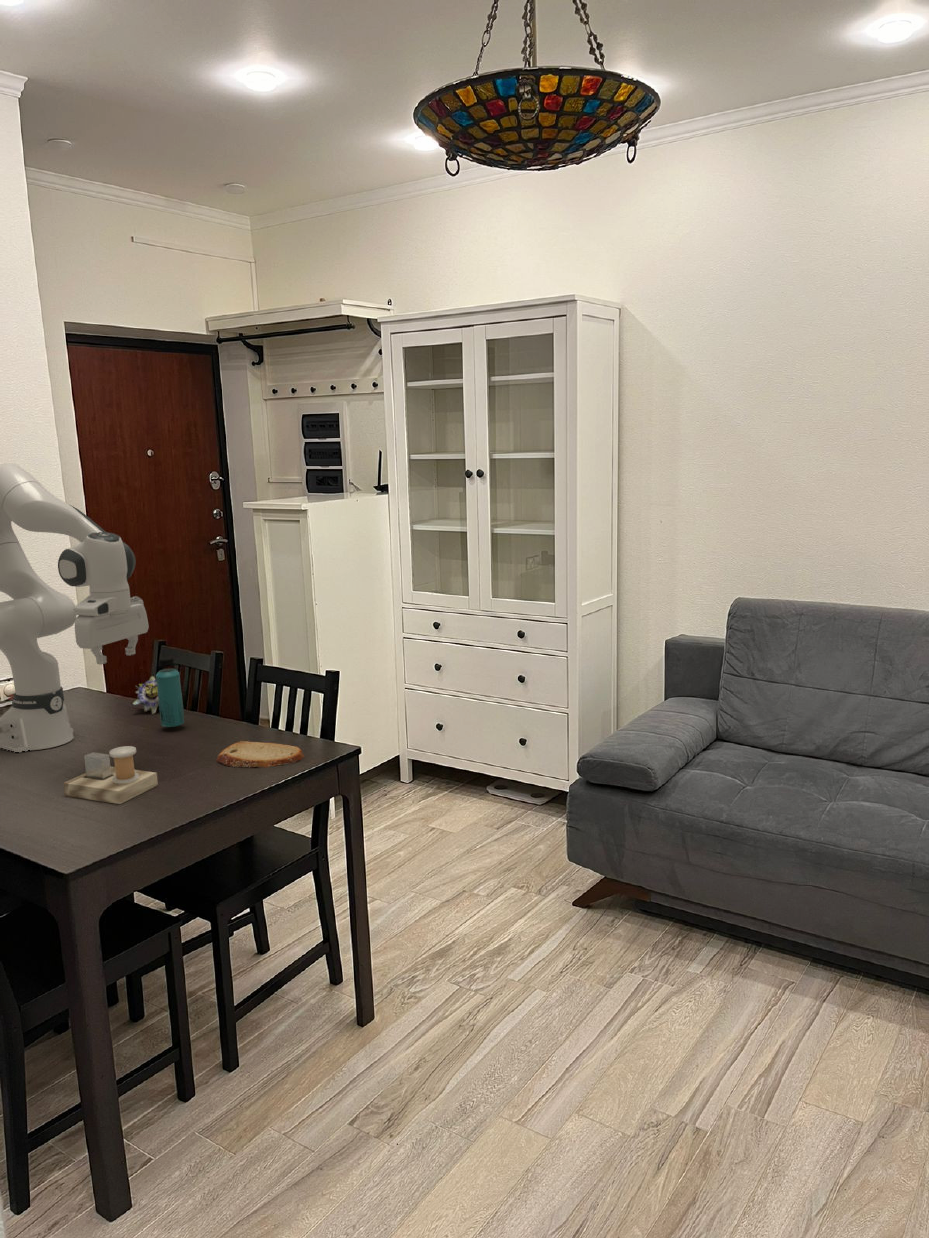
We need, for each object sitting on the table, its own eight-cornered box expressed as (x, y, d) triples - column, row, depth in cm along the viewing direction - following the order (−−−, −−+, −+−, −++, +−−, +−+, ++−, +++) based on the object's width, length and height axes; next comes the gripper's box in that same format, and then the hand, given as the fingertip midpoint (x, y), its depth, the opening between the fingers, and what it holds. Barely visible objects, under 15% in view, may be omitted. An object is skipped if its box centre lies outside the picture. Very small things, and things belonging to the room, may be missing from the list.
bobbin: (107, 782, 210) (103, 752, 209) (125, 774, 215) (122, 745, 214) (126, 785, 208) (123, 755, 207) (144, 777, 213) (141, 747, 212)
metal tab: (88, 789, 215) (84, 755, 214) (96, 785, 218) (92, 752, 216) (104, 791, 213) (100, 758, 212) (112, 788, 216) (109, 754, 214)
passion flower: (156, 731, 276) (128, 704, 270) (152, 715, 285) (125, 688, 279) (187, 706, 277) (160, 679, 271) (182, 691, 286) (156, 664, 280)
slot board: (64, 795, 212) (63, 782, 211) (104, 777, 223) (102, 765, 222) (120, 804, 206) (118, 791, 205) (157, 785, 216) (156, 772, 216)
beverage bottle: (190, 727, 260) (184, 656, 256) (171, 733, 254) (164, 661, 251) (174, 723, 263) (167, 654, 260) (155, 730, 258) (148, 659, 254)
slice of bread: (310, 760, 231) (309, 745, 230) (242, 778, 220) (240, 762, 219) (276, 743, 245) (275, 729, 244) (210, 759, 234) (209, 745, 233)
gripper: (131, 594, 232) (137, 648, 235) (67, 609, 214) (74, 668, 217) (152, 595, 230) (157, 650, 233) (88, 610, 212) (95, 670, 214)
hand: (116, 659), depth 225 cm, fingers open, 8 cm apart
